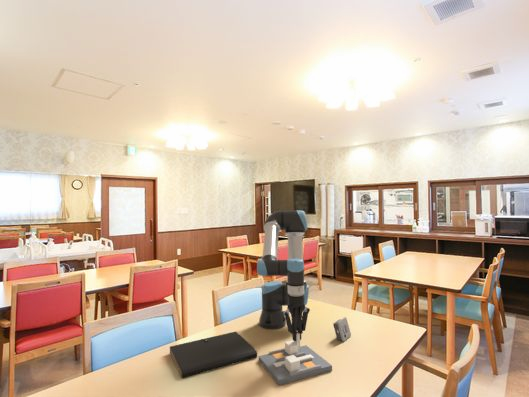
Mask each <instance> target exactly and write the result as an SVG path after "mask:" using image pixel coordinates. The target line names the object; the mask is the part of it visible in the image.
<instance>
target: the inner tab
mask: <svg viewBox="0 0 529 397" xmlns="http://www.w3.org/2000/svg"><path fill="white" fill-rule="evenodd" d="M284 348H285V351H286V352H287V353H288V354H289V355H293V354H297V353H299V351H298V344H297V343H296V342H294V341H293V339H292V340H288V341H285V342H284Z"/></svg>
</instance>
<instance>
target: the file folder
mask: <svg viewBox="0 0 529 397" xmlns="http://www.w3.org/2000/svg"><path fill="white" fill-rule="evenodd" d="M170 354H171V355H170ZM169 355H170V357H171V359H173V360H172V361H173V363H174V365H175V367H176V370H177V372H178V371H179V372H178V373H179V376H180V377H181V379H185V378H188V377H193V376H196V375H199V374H204V373H205V372H209V371H214V370H217V369H220V368H223V367H227V366H228V367H229V366H230V365H234V364H238V363H241V362H245V361H248V360H252V359H256V358H257V357H258V352H257V350H256V348H254V346H252V345H251V343H249V342H248V341H247V340H246V339H245V338H244V337H243V336H242V335H241V334H239V333H238V332H237V331H232V332H228V333H223V334H219V335H215V336H211V337H206V338H200V339H198V340H197V339H196V340H193V341H189V342H184V343H180V344H179V343H178V344H175V345H172V346H169Z"/></svg>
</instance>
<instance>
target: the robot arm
mask: <svg viewBox="0 0 529 397" xmlns="http://www.w3.org/2000/svg"><path fill="white" fill-rule="evenodd" d="M307 230H308V223H307V216H306V212H305V211H304V210H300V209H299V210H297V209H296V210H291V209H290V210H289V209H288V210H277V211H274V212H272V213H271V214H269V216H268V217H267V218H266V219H265V221H264V223H263V232H264V238H263V248H262V258H261V259H258V260H257V263H256V271H257V272H256V273H257V275H258V276H260V277H261V276H263V277H264V276H265V277H273V276H274V277H286V278H287V279H286V280H285V284H283V282H282V281H280V280H279V281H278V280H273V281H268V282H265V283H264V284H262V286H261V313H260V316H259V319H258V320H259V321H258V324H259V326H260V327H261V328H264V329H268V330H275V329H280V328H283V327H287V330H288V332H289V333H290V334H291V335H292V336H291V337H292V340H293V341H294V342H296V343H297V344H298V349H300V346H301V341H302V334H303V332H305V331H306V328H307V322H308V316H309V313H310V311H311V310H310V308H309V307H307V304H308V301H309V295H310V294H309V293H310V292H309V291H310V289H309V288H310V285H309V284H307V280H306V279H305V261H304V249H303V248H304V247H303V243H304V242H303V237H304V235H305V233H306V231H307ZM280 231H284V234H285V235H286V236H287V259H278V254H279V253H278V249H279V248H278V246H279V233H280ZM285 306H286V308H287V309H286V310H283V307H285Z"/></svg>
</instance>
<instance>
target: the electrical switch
mask: <svg viewBox="0 0 529 397" xmlns="http://www.w3.org/2000/svg"><path fill="white" fill-rule="evenodd" d="M332 325H333V328H334V332H335V337H336V340H337V341H341V342H342V343H343V342H346V341H347V340H348V339H349V338H350V337H351V336H352V333H351V329H350V326H349V323H348V319H347V317H342V318H341V319H338V320H337V321H335V322H333V324H332Z"/></svg>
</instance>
